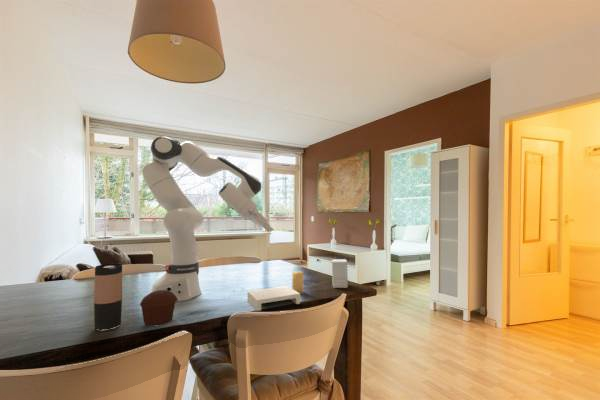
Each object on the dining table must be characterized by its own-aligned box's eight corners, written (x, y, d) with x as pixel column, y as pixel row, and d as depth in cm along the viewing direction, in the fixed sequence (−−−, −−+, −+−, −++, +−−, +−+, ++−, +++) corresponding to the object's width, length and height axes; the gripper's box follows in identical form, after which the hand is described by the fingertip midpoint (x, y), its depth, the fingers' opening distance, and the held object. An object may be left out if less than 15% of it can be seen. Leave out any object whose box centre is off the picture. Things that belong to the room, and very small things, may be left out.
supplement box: (346, 284, 143) (346, 259, 143) (347, 288, 136) (347, 261, 136) (332, 283, 144) (331, 258, 144) (332, 287, 136) (332, 261, 137)
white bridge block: (257, 310, 106) (257, 300, 106) (247, 300, 118) (247, 291, 118) (300, 303, 114) (300, 293, 114) (287, 294, 126) (287, 285, 126)
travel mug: (102, 322, 96) (103, 263, 97) (126, 321, 97) (127, 263, 97) (88, 332, 88) (89, 268, 89) (113, 331, 89) (114, 267, 90)
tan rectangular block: (295, 294, 126) (295, 274, 127) (290, 291, 131) (290, 272, 131) (305, 292, 128) (305, 273, 129) (300, 290, 133) (300, 270, 133)
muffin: (136, 329, 90) (137, 298, 90) (142, 317, 100) (142, 289, 101) (177, 324, 94) (177, 294, 95) (178, 313, 105) (178, 285, 105)
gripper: (254, 203, 121) (278, 225, 123) (252, 207, 141) (273, 225, 143) (244, 214, 120) (268, 236, 121) (244, 216, 140) (264, 235, 141)
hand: (270, 230), depth 132 cm, fingers open, 8 cm apart
